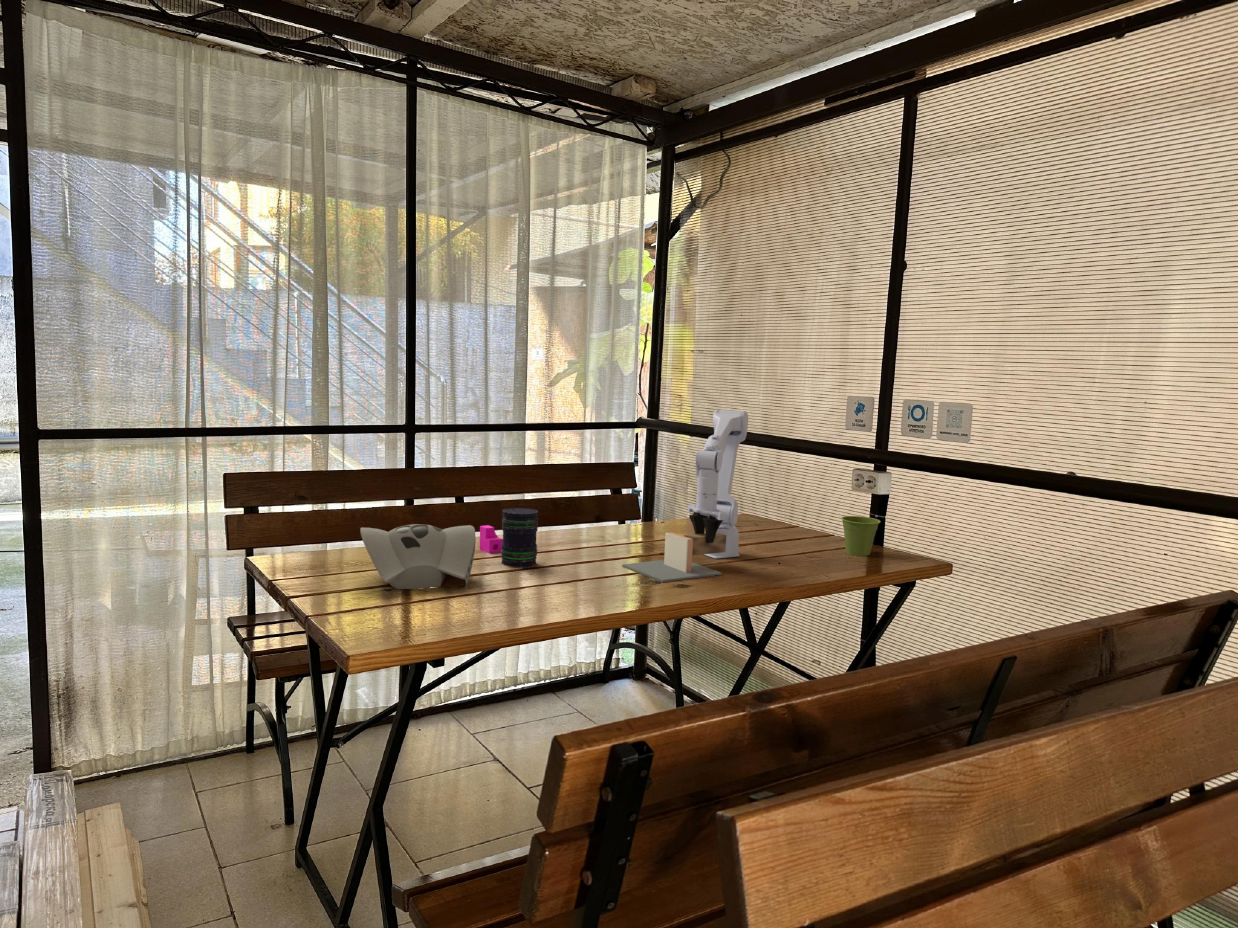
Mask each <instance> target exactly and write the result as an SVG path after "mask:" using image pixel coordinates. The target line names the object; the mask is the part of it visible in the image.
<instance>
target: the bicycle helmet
mask: <svg viewBox="0 0 1238 928" xmlns="http://www.w3.org/2000/svg"><path fill="white" fill-rule="evenodd" d="M359 531H360V536H361V539H362V542H363V545H364V547H365V550H366V551H367V553H368V555H369V559H370V560H371V561H372V564H373V566H374V568H375V569H376V571H377V573H378V574H379V576H380V577H381V579H382V580H383V582H385V583H386V584H387V583H388V584H389V585H390V586H391V587H393V588H394V587H395V588H394V589H396V588H397V589H396V590H399V589H418V590H420V589H419V588H430V587H440V586H449V587H460V586H464V588H466V587H467V585H468V582H469V579H470V577H471V573H472V567H473V563H474V559H475V553H476V542H477V541H476V540H477V539H476V537H477V536H476V529H475V527H474V526H473V525H471V524H469V525H458V526H452V527H451V526H450V527H448V528H447V527H446V528H443V529H442V528H440V527H437V526H434V525H430V524H419V523H414V524H406V525H401V526H397V527H395V528H393V529H391V530H389V531H386V530H383V529H380V528H372V527H360V530H359ZM440 588H441V587H440Z"/></svg>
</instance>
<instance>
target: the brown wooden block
mask: <svg viewBox="0 0 1238 928" xmlns="http://www.w3.org/2000/svg"><path fill="white" fill-rule="evenodd" d="M683 536H685V537H688V538H691V539H693V550H692V557H693V556H703V554H713V553H723V552H725V550H726V535H725V534H721V533H718V532H716V535H715V538H714V542H713V543H706V532H704V533H703V534H695V533H694V534H683Z"/></svg>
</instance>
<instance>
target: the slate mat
mask: <svg viewBox="0 0 1238 928" xmlns="http://www.w3.org/2000/svg"><path fill="white" fill-rule="evenodd" d="M622 568H625V569H628V570H630V571H633V572H635V573H637V574H640V575H643V576H644V577H646V578H647V577H648V578H650V579H652V580H655V581H658V582H660V583H669V582H676V581H685V580H692V579H693V580H694V579H698V578H708V577H715V575H717V576H722V575H723V573H722V572H720V571H718V570H715V569H714V568H713V569H712V568H709V567H706V566H704V565H701V564H699V563H695V562H693V561H692V570H691V572H683V571H681V570H678V569H675V568H673V567H670V566H667V565H665V564H664V559H659V560H651V561H641V562H634V563H633V562H631V563H623V564H622Z"/></svg>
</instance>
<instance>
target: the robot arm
mask: <svg viewBox="0 0 1238 928" xmlns="http://www.w3.org/2000/svg"><path fill="white" fill-rule="evenodd" d="M712 415H713V416H712V425H713V432H714V433H713V434H712V435H710V436H708V438H707V440H706V443H705V444H704V447H703V449H702V450H700V451H698V452H697V453H696V456H695V470H696V473H695V474H696V477H697V482H696V483H697V484H696V485H697V486H696V503H695V504H688V505H687V512H688V513H692V514H689V517H688V518H689V520H690V521H691V524H692V527H693V530H694V532H693V533H694V534H703V533H706V543H713V542H714V538H715V535H716V532H718V533H721V534H725V535H726V550H725V552H723V553H713V554H703V555H704V556H706V557H710V558H713V559H726V558H734V557H741V554H740V553H739V546H740V544H739V543H740V533H739V530H738V528H737V527H736V526H735V525H736V524H737V522H738V517H739V503H738V501H737V499H735V497H733V496H732V495H731V494H732V487H733V481H734V475H735V468H736V462H737V455H738V450H739V448H740V447H739V446H740V443H742V442H744V441H745V440H746V438H747V434H748V428H749V414H748V412H747V411H746V410H726V409H725V410H724V409H716V410H715V411H714V412H713V414H712ZM703 555H702V556H703Z"/></svg>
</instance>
